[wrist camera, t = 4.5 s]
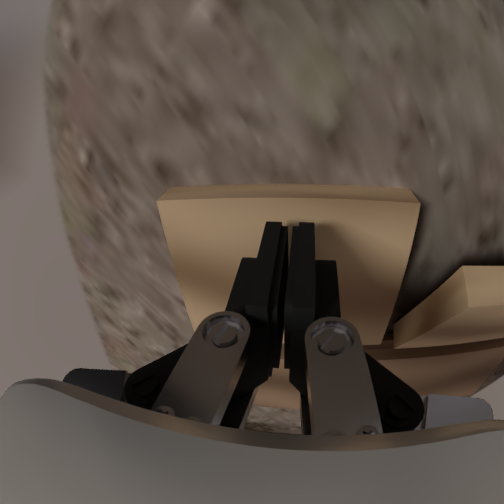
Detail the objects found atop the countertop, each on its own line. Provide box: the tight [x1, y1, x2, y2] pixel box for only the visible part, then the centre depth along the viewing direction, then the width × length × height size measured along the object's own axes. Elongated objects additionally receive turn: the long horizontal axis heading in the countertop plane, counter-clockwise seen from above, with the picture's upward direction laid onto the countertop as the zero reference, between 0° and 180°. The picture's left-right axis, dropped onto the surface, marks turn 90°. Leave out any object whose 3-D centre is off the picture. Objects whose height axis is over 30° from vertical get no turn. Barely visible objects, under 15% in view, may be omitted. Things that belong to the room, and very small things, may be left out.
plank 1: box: [157, 184, 421, 345], centre depth 13 cm, size 8×10×1 cm
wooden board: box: [194, 332, 504, 409], centre depth 17 cm, size 8×22×1 cm, turn 95°
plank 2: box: [393, 266, 504, 349], centre depth 10 cm, size 8×10×1 cm
